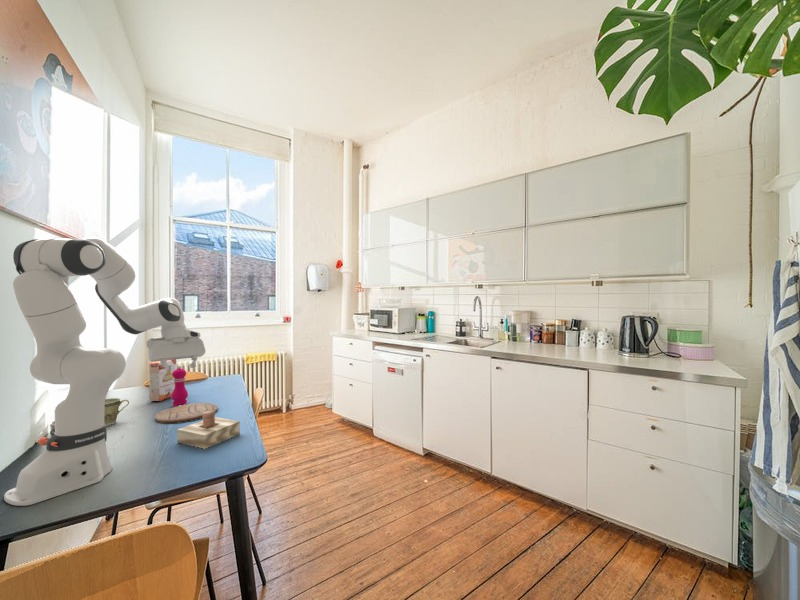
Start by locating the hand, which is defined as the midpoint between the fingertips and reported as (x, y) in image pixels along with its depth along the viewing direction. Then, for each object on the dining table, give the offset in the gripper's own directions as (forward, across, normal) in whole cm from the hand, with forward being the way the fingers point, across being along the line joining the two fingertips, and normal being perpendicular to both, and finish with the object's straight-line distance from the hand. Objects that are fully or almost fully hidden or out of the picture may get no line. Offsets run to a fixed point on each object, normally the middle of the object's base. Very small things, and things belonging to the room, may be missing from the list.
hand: (181, 369), depth 138 cm
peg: (+29, +3, -4) cm, 30 cm away
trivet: (+14, +15, +32) cm, 38 cm away
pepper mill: (+6, +22, +50) cm, 55 cm away
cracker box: (-2, +23, +69) cm, 73 cm away
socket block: (+29, +4, -4) cm, 30 cm away
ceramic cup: (+8, -8, +48) cm, 50 cm away
